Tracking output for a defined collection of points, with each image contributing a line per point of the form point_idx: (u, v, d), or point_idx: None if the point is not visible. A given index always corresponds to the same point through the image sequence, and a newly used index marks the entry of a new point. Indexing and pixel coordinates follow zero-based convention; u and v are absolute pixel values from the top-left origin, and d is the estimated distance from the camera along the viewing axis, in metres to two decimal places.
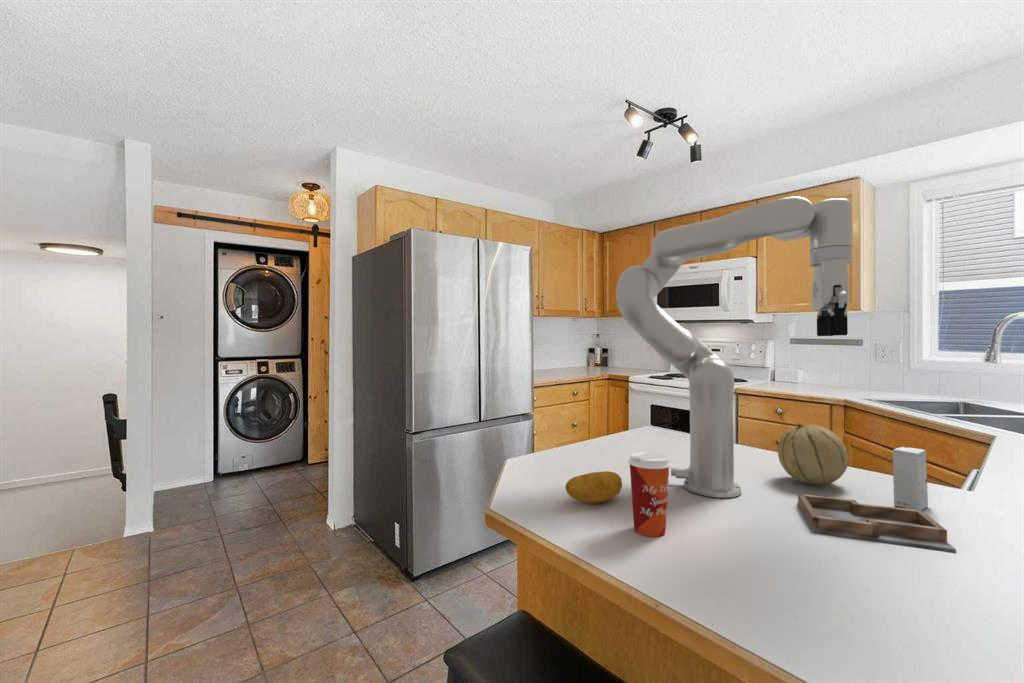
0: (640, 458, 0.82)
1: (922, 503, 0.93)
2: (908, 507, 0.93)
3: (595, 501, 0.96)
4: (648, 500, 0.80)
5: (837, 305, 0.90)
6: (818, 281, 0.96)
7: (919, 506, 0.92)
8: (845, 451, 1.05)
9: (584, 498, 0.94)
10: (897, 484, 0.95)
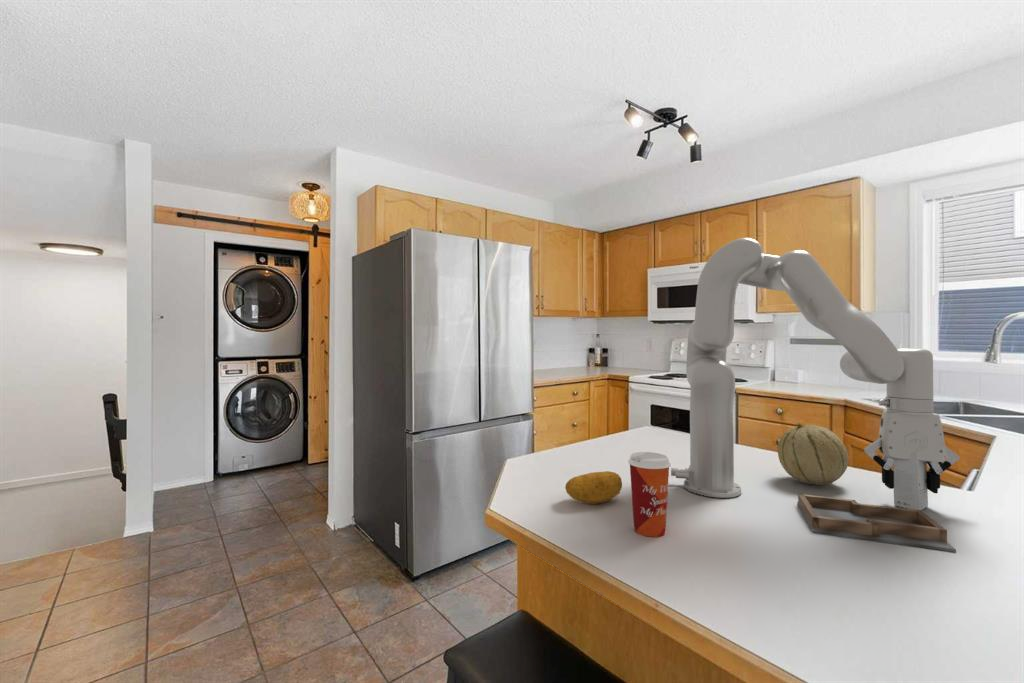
0: (640, 458, 0.82)
1: (922, 503, 0.93)
2: (908, 507, 0.93)
3: (595, 501, 0.96)
4: (648, 500, 0.80)
5: (950, 465, 0.92)
6: (929, 434, 0.92)
7: (919, 506, 0.92)
8: (845, 451, 1.05)
9: (584, 498, 0.94)
10: (897, 484, 0.95)
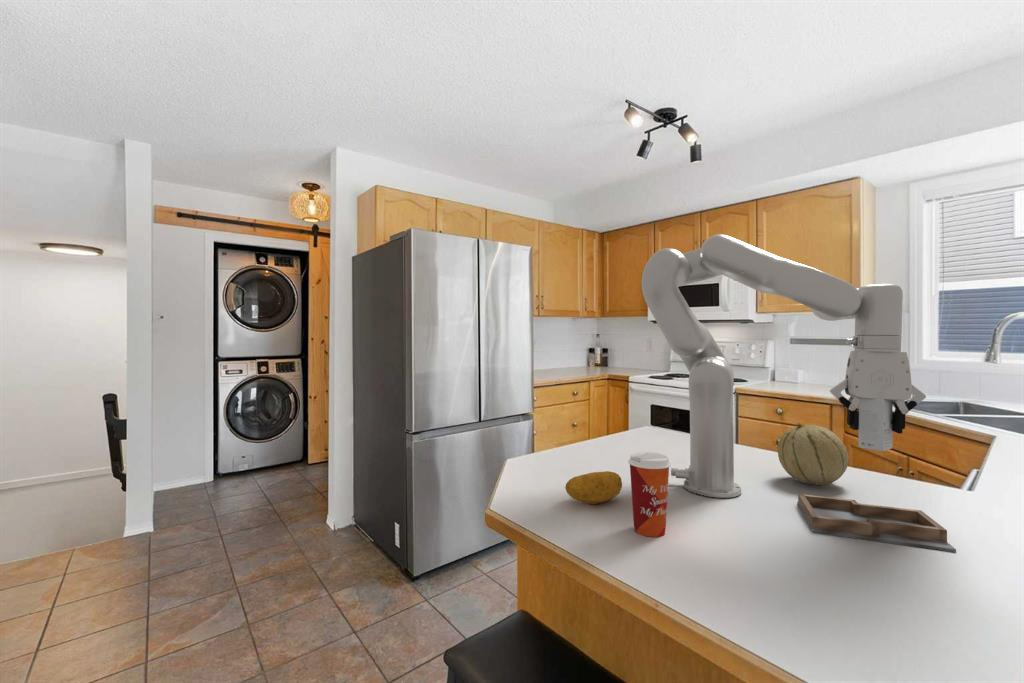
0: (640, 458, 0.82)
1: (886, 443, 0.90)
2: (872, 448, 0.90)
3: (595, 501, 0.96)
4: (648, 500, 0.80)
5: None
6: (896, 371, 0.88)
7: (883, 446, 0.89)
8: (845, 451, 1.05)
9: (584, 498, 0.94)
10: (862, 425, 0.91)
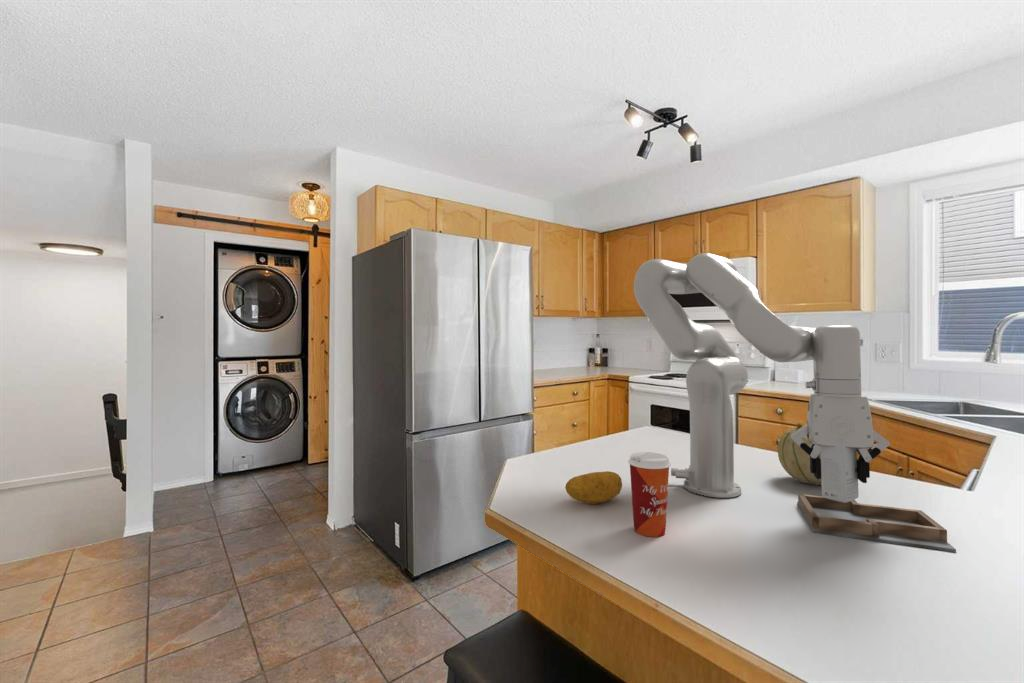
0: (640, 458, 0.82)
1: (850, 494, 0.84)
2: (835, 498, 0.85)
3: (595, 501, 0.96)
4: (648, 500, 0.80)
5: None
6: (856, 417, 0.84)
7: (847, 497, 0.84)
8: None
9: (584, 498, 0.94)
10: (824, 473, 0.86)
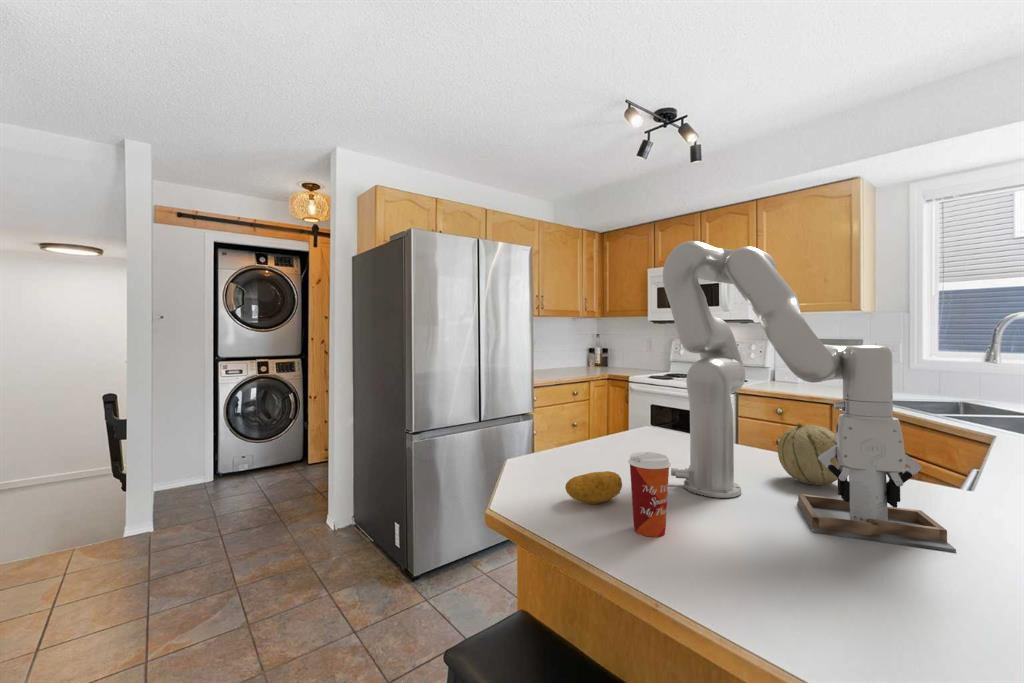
0: (640, 458, 0.82)
1: (880, 518, 0.83)
2: None
3: (595, 501, 0.96)
4: (648, 500, 0.80)
5: (911, 476, 0.82)
6: (888, 441, 0.82)
7: None
8: None
9: (584, 498, 0.94)
10: (853, 497, 0.85)
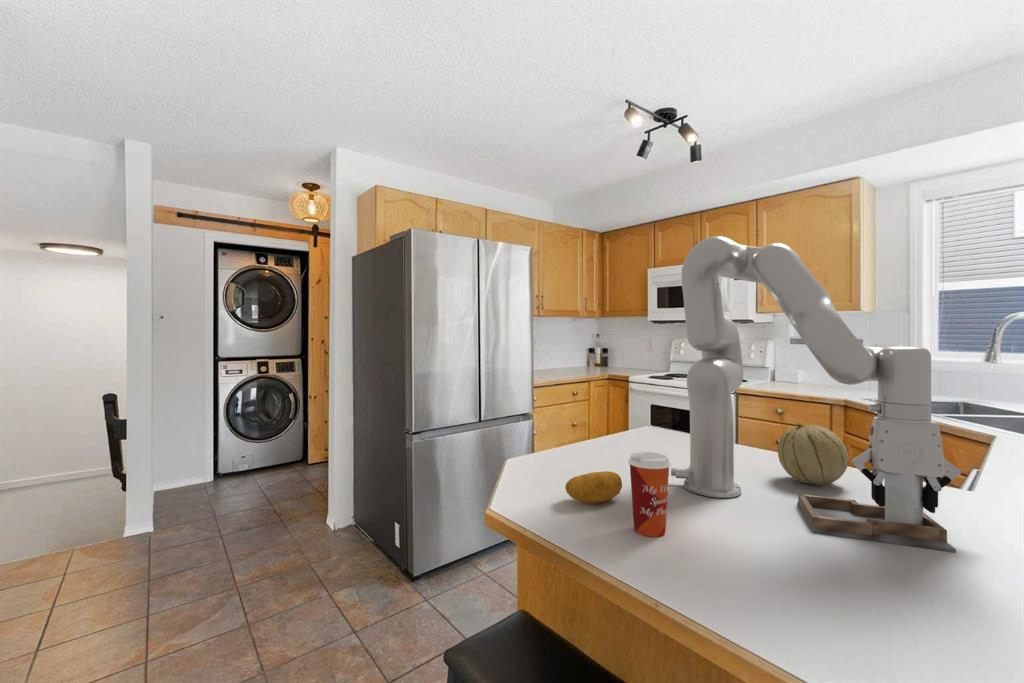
0: (640, 458, 0.82)
1: (917, 524, 0.81)
2: None
3: (595, 501, 0.96)
4: (648, 500, 0.80)
5: (949, 481, 0.80)
6: (926, 445, 0.80)
7: None
8: (845, 451, 1.05)
9: (584, 498, 0.94)
10: (889, 502, 0.83)
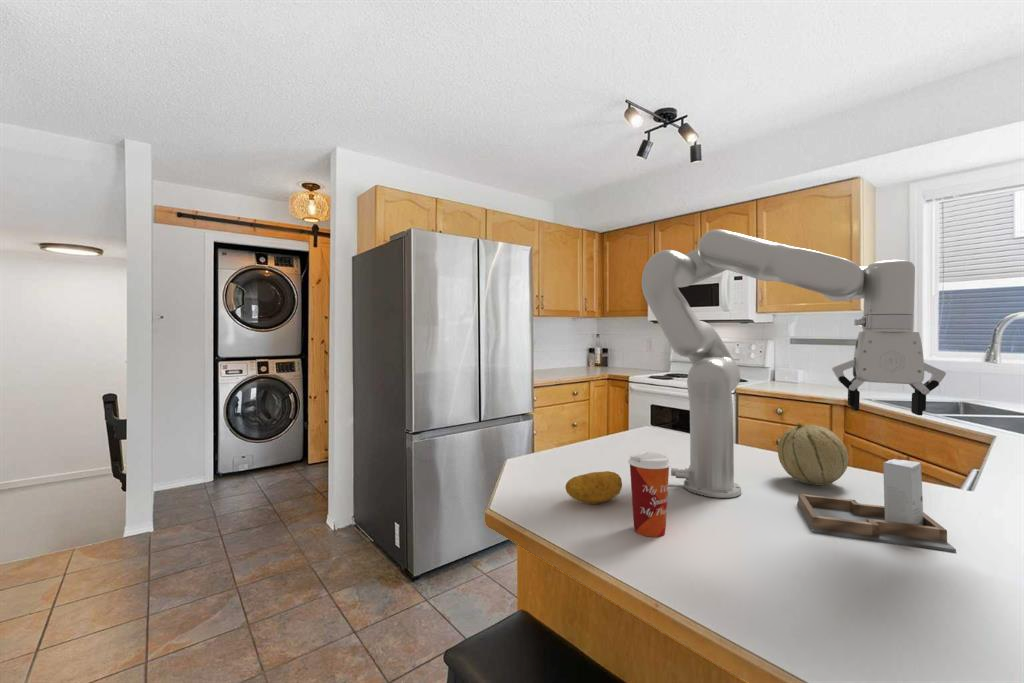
0: (640, 458, 0.82)
1: (917, 524, 0.81)
2: None
3: (595, 501, 0.96)
4: (648, 500, 0.80)
5: (938, 384, 0.83)
6: (907, 353, 0.83)
7: None
8: (845, 451, 1.05)
9: (584, 498, 0.94)
10: (888, 502, 0.83)
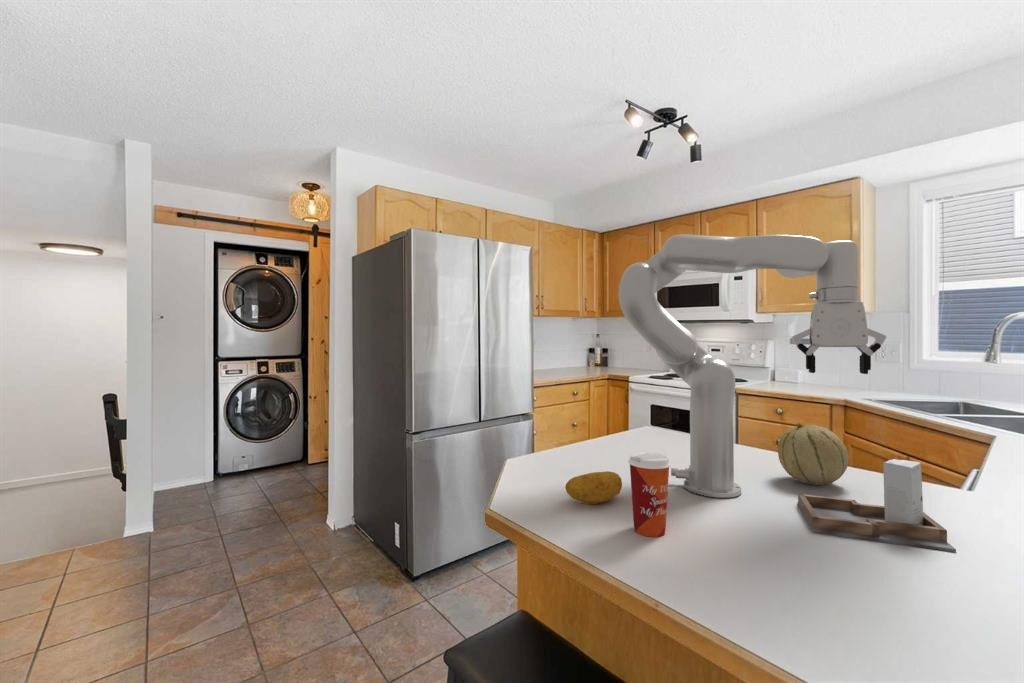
0: (640, 458, 0.82)
1: (917, 524, 0.81)
2: None
3: (595, 502, 0.96)
4: (648, 500, 0.80)
5: (880, 346, 0.96)
6: (853, 320, 0.96)
7: None
8: (845, 451, 1.05)
9: (584, 498, 0.94)
10: (888, 502, 0.83)
